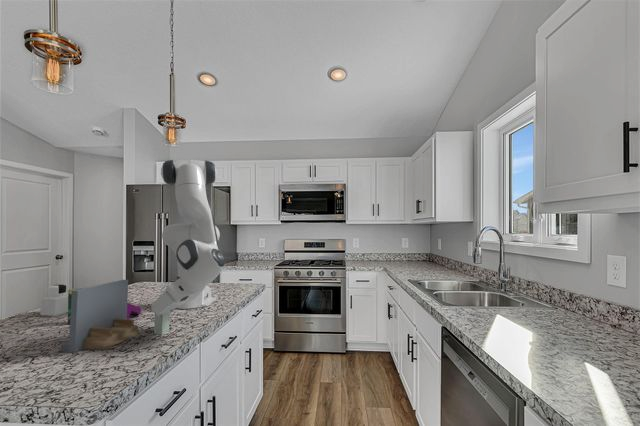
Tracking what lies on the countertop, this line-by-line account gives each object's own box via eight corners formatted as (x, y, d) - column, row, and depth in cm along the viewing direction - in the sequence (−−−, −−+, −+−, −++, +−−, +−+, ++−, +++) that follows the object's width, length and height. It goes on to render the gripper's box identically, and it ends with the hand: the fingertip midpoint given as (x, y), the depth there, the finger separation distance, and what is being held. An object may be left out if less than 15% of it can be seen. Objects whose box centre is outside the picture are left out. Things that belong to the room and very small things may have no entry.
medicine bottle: (56, 310, 134) (58, 283, 134) (71, 311, 133) (72, 283, 133) (39, 315, 127) (41, 286, 127) (54, 316, 126) (56, 287, 126)
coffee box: (66, 325, 115) (68, 290, 115) (66, 323, 117) (68, 288, 118) (92, 321, 119) (94, 287, 120) (93, 319, 122) (94, 286, 122)
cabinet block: (161, 330, 110) (162, 302, 111) (169, 330, 110) (170, 302, 110) (154, 333, 106) (155, 305, 107) (162, 334, 106) (163, 305, 106)
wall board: (113, 329, 111) (115, 279, 112) (126, 330, 110) (128, 279, 111) (59, 351, 91) (63, 290, 92) (74, 352, 90) (77, 291, 91)
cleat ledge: (119, 332, 107) (120, 317, 107) (137, 334, 106) (138, 318, 106) (83, 348, 93) (84, 330, 93) (104, 349, 92) (105, 331, 92)
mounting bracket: (117, 330, 127) (88, 323, 111) (124, 309, 131) (97, 300, 115) (140, 330, 127) (114, 323, 111) (145, 309, 131) (121, 300, 115)
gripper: (198, 276, 118) (174, 300, 119) (164, 286, 98) (136, 315, 99) (208, 288, 117) (184, 312, 118) (177, 300, 97) (148, 330, 98)
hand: (162, 313), depth 108 cm, fingers closed on cabinet block, 4 cm apart
